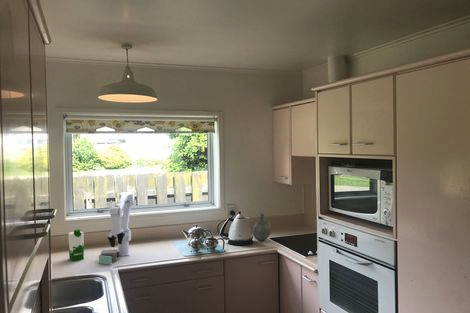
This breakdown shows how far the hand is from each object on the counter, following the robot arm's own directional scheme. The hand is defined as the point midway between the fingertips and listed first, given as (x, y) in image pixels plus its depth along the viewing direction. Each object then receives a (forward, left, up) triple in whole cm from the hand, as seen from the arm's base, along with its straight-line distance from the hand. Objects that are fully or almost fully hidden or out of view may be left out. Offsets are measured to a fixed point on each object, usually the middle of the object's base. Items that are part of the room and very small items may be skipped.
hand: (116, 245), depth 249 cm
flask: (-31, +108, -11) cm, 113 cm away
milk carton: (-10, -27, -11) cm, 30 cm away
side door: (+5, -7, -10) cm, 13 cm away
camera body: (-3, -5, -10) cm, 12 cm away
